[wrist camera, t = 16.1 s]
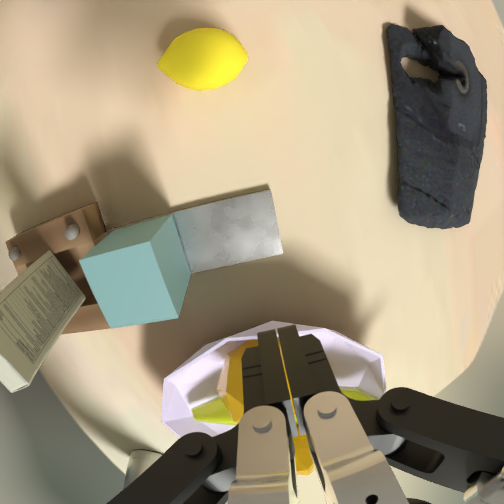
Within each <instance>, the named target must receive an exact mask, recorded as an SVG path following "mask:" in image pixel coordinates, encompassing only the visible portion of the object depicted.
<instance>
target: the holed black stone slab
mask: <svg viewBox="0 0 504 504" xmlns="http://www.w3.org/2000/svg"><path fill="white" fill-rule="evenodd" d="M386 31H387V33H388V36H387V37H388V43H389V48H390V51H391V53H390V58H391V69H392V83H393V85H394V86H393V96H394V105H395V108H396V111H395V114H396V117H397V140H398V163H399V170H398V174H399V188H398V197H397V200H398V211H399V215H400V217H402V218H403V219H404V220H406V221H407V222H408V223H411V224H416V225H418V226H425V227H427V228H440V229H447V228H452V227H455V228H459V227H462V226H464V225H465V224H469V222H470V218H471V212H472V208H473V201H474V193H475V189H476V186H477V181H478V175H479V169H480V163H481V160H482V155H483V147H484V139H485V137H486V135H485V132H486V123H487V91H486V89H487V84H486V79H485V78H484V77H483V75H482V74H481V73H480V72H479V71H478V68H477V66H476V64H475V59H474V56H473V54H472V52H471V50H470V47H469V46H468V45H467V44H466V43H465V42H464V41H463V40H460V39H458V38H457V37H455V36H454V35H453V34H452V33H451V32H450V31H449V30H447V29H446V28H445V27H444V26H443V25H439V26H433V27H424V28H419V29H413V33H411V32H410V31H409V29H407V28H402V27H400V26H398V25H394V24H390V25H389V27H388V28H387V30H386ZM414 35H416V36H414ZM403 57H408V58H410V59H414V60H416V61H418V62H419V63H420V64H422V65H424V66H426V65H429V67H430V68H432V69H433V70H436V71H438V73H439V75H440V76H439V78H438V81H437V82H436V83H432V82H431V81H430V80H429V79H423V78H413V77H409V75H408V74H407V73H406V72H405V70H404V69H403V68H402V65H401V63H400V61H401V59H402V58H403Z"/></svg>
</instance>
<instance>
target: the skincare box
mask: <svg viewBox="0 0 504 504" xmlns="http://www.w3.org/2000/svg"><path fill="white" fill-rule="evenodd" d="M85 299H86V297H85V295H84V294H83V293H82V291H81V290H80V289H79V288H78V286H77V285H76V284H75V282H74V281H73V280H72V279H71V277H70V276H69V275H68V273H67V272H66V271H65V269H64V268H63V267H62V265H61V264H60V263H59V261H58V260H57V259H56V257H55V256H54V255H53V253H52V252H51V251H50V250H49V251H47V252H46V253H45V254H44V255H42V256H41V257H40V258H39V259H38V260H36V261H35V262H34V263H33V264H31V265H30V266H29V267H28V268H27V269H26V270H24V271H23V272H22V273H21V274H20V275H19V276H18V277H16V278H15V279H14V280H13V281H12V282H11V283H10V284H9V285H8V286H6V287H5V288H4V289H3V290H2V291H1V292H0V382H2V384H3V385H5V387H6V388H7V389H8V390H9V391H10V392H12V393H13V392H15V391H18V390H21V389H23V388H25V387H28V386H29V385H30V383H31V381H32V379H33V378H34V376H35V374H36V373H37V371H38V369H39V368H40V366H41V364H42V363H43V361H44V359H45V358H46V356H47V355H48V353H49V351H50V350H51V348H52V347H53V345H54V344H55V342H56V341H57V339H58V338H59V336H60V335H61V333H62V332H63V330H64V329H65V327H66V326H67V324H68V323H69V321H70V320H71V319H72V317H73V316H74V314H75V313H76V311H77V310H78V308H79V307H80V306H81V304H82V303H83V302H84V300H85Z"/></svg>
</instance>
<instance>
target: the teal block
mask: <svg viewBox="0 0 504 504" xmlns="http://www.w3.org/2000/svg"><path fill="white" fill-rule="evenodd" d="M79 262H80V264H81V267H82V269H83V272H84V274H85V276H86V279H87V281H88V283H89V285H90V288H91V290H92V292H93V294H94V296H95V298H96V300H97V303H98V305H99V307H100V309H101V311H102V313H103V315H104V317H105V319H106V321H107V322H108V324H109V326H110V328H118V327H125V326H132V325H138V324H145V323H151V322H158V321H164V320H170V319H176V318H179V315H180V311H181V308H182V304H183V301H184V297H185V294H186V291H187V287H188V284H189V281H190V277H191V273H190V270H189V267H188V264H187V261H186V257H185V254H184V251H183V248H182V245H181V242H180V238H179V235H178V232H177V229H176V225H175V222H174V219H173V215H172V214H170V215H166V216H163V217H159V218H155V219H152V220H148V221H144V222H141V223H137V224H134V225H130V226H127V227H123V228H120V229H117V230H114V231H112V232H111V233H110V234H109V235H108V236H106V237H105V238H104V239H103V240H102V241H100V242H99V243H98V244H97V245H96V246H95V247H93V248H92V249H91V250H90V251H89V252H88V253H87V254H85V255H84V256H83V257H82V258H81V259H80V260H79Z"/></svg>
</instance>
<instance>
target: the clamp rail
mask: <svg viewBox="0 0 504 504" xmlns="http://www.w3.org/2000/svg"><path fill="white" fill-rule="evenodd" d="M170 214H172V215H173V219H174V222H175V225H176V229H177V232H178V235H179V238H180V242H181V245H182V248H183V251H184V254H185V257H186V261H187V264H188V267H189V270H190V273H191V274H192V273H196V272H201V271H206V270H210V269H215V268H220V267H224V266H229V265H234V264H238V263H243V262H248V261H252V260H257V259H261V258H266V257H270V256H275V255H280V254H283V250H282V245H281V240H280V234H279V229H278V224H277V219H276V214H275V209H274V204H273V199H272V194H271V190H270V189H269V190H264V191H259V192H254V193H250V194H245V195H241V196H236V197H232V198H228V199H223V200H219V201H215V202H211V203H207V204H203V205H198V206H194V207H190V208H187V209H183V210H179V211H175V212H171V213H167V214H164V215H160V216H156V217H153V218H149V219H145V220H142V221H138V222H135V223H131V224H128V225H125V226H121V227H118V228H114V229H111V230H108V231H106V232H104V233H105V236H108V235H109V234H110V233H111V232H112V231H114V230H117V229H120V228H123V227H127V226H130V225H134V224H137V223H141V222H144V221H148V220H152V219H155V218H159V217H163V216H166V215H170Z"/></svg>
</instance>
